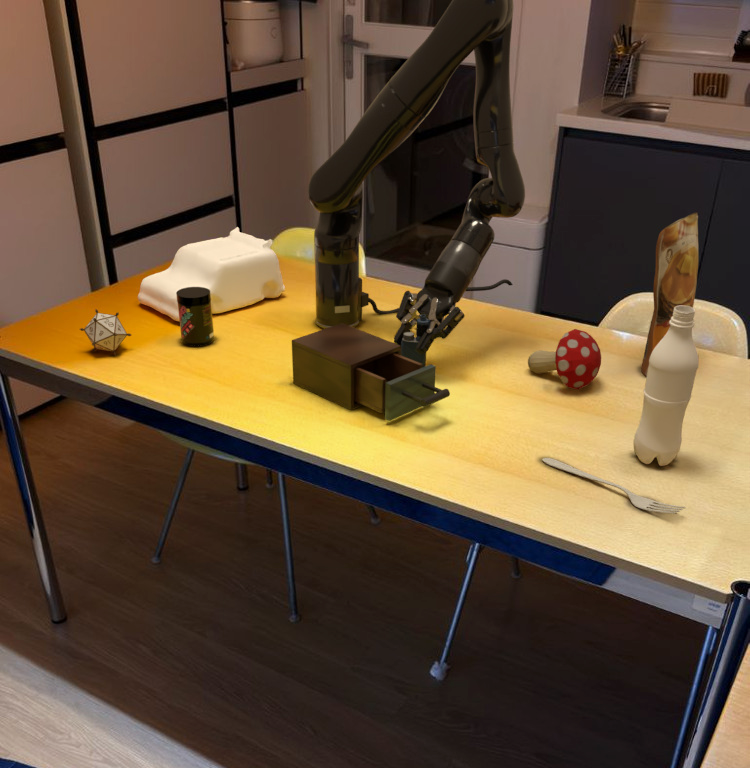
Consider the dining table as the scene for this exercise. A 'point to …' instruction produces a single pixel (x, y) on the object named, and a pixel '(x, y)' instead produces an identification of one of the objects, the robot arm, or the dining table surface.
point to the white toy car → (217, 274)
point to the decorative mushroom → (570, 359)
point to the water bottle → (667, 390)
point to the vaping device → (415, 341)
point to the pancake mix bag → (672, 277)
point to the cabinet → (335, 361)
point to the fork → (635, 499)
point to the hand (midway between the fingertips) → (407, 348)
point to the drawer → (396, 385)
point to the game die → (105, 332)
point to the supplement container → (195, 316)
